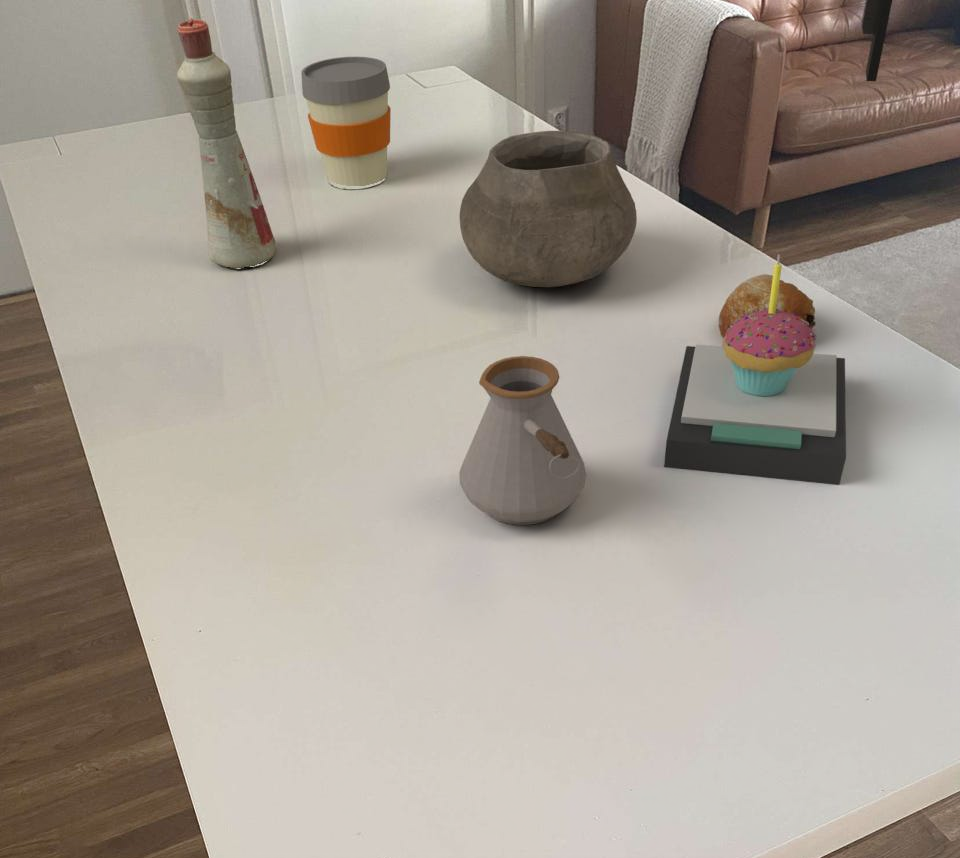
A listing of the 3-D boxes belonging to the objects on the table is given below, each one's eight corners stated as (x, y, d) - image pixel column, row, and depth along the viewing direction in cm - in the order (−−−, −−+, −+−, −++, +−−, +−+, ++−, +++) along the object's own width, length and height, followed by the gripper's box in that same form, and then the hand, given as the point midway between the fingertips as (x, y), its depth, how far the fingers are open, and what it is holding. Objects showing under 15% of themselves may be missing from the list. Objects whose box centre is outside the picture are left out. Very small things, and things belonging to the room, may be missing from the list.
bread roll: (739, 337, 120) (718, 274, 116) (827, 312, 114) (807, 246, 110) (722, 378, 113) (699, 313, 109) (814, 354, 108) (793, 285, 104)
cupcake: (712, 363, 101) (727, 245, 93) (798, 361, 101) (821, 242, 93) (724, 408, 95) (741, 287, 87) (815, 407, 95) (841, 284, 86)
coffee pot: (451, 473, 96) (440, 327, 86) (568, 456, 98) (571, 310, 87) (494, 622, 81) (486, 468, 71) (631, 600, 82) (644, 445, 72)
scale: (839, 384, 105) (846, 350, 102) (839, 484, 92) (848, 449, 90) (683, 371, 108) (687, 338, 105) (663, 466, 96) (667, 432, 93)
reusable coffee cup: (415, 176, 152) (406, 66, 142) (350, 201, 146) (335, 88, 136) (364, 157, 159) (351, 51, 148) (299, 180, 153) (281, 71, 143)
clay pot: (437, 259, 131) (428, 137, 120) (584, 226, 136) (587, 106, 126) (506, 330, 116) (502, 198, 106) (667, 290, 122) (678, 160, 111)
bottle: (198, 257, 135) (139, 18, 115) (259, 238, 138) (211, 2, 119) (228, 279, 130) (171, 32, 110) (289, 258, 133) (245, 15, 114)
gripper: (853, -245, 70) (801, 88, 85) (1256, -265, 65) (1126, 94, 80) (851, -253, 75) (802, 63, 90) (1225, -272, 70) (1108, 66, 85)
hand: (955, 78), depth 85 cm, fingers open, 13 cm apart
